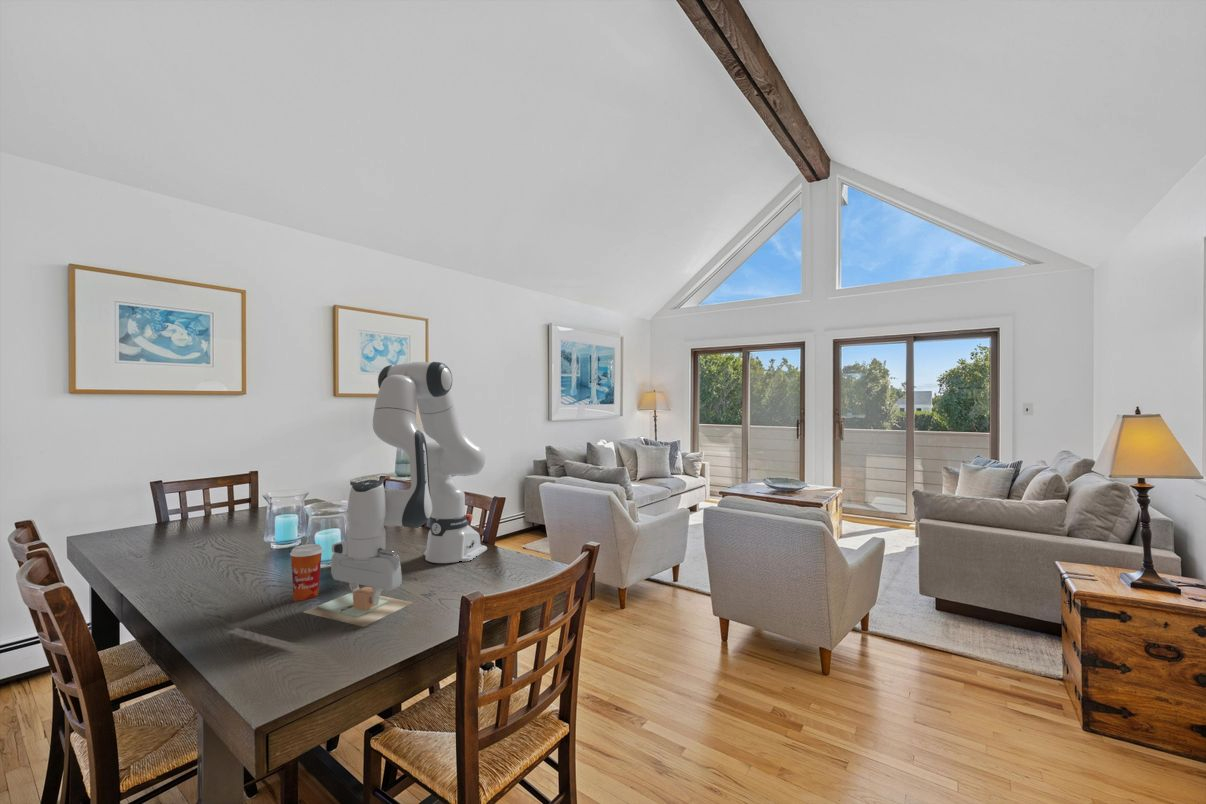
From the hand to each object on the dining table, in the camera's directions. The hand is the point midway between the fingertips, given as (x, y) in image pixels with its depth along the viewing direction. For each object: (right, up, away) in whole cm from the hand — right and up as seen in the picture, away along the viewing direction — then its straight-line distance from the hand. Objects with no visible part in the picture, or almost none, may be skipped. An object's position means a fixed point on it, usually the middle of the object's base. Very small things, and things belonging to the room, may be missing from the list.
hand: (365, 601), depth 132 cm
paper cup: (-19, -3, +8) cm, 21 cm away
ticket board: (-2, -3, +1) cm, 4 cm away
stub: (0, -2, 0) cm, 2 cm away
